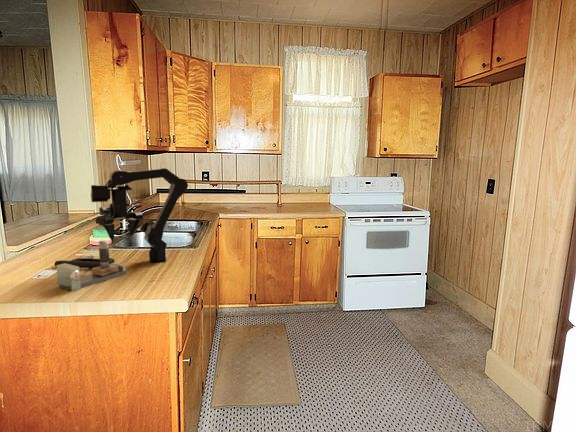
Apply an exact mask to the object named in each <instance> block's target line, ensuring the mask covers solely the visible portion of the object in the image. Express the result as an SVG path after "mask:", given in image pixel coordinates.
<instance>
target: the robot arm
mask: <svg viewBox="0 0 576 432" xmlns="http://www.w3.org/2000/svg"><path fill="white" fill-rule="evenodd" d="M160 178H163V180H165V181H166V182H167V183H168V184H169V190H168V194H167V197H166V199H165V202H164V204H162V205H163V206H162V208H161V210H160V211H159V213H158V215H157V218H156V220H155V221H154V223H152V225H149V224H148V225H147V228H146V231H144V233H143V234H144V240H145V241H146V243H148V244H149V246H150V248H149V251H148V260H149V263H163V262H167V253H166V248H167V245H168V244H167V242H165V241H164V240H162V239H163V235H164V229H165V226H166V224H167V222H168V219H169V218H170V216H171V213H172V212H173V210H174V209H175V206H176V204H177V202H178V200H179V199H180V197H182V196H183V195H184V193H185V192H186V191H187V189H188V187H189V184H188V181H186V179H184V178H181V177H179V176H178V175H176V174H174V173H173V172H171V170H170V169H168V168H165V167H161V168H157V169H155V168H154V169H147V170H138V171H131V170H129V171H127V170H114V171H112V172H111V173H110V175H109V180H108V181H107V182H106V183H105V184H104V185H95V184H92V185H90V199H91V200H90V201H91V203H104V202H105V203H106V202H108V201H109V200H110V199H111V203H110V204H109V207H106V206H100V207H99V214H100V216H96V218H95V224H98V225H99V226H102V227H103V228H104V229H105V231H106V233H107V235H108V237H109V239H110V240H111V241H114V237H115V236H114V235H115V223H114V222H115V221H121V220H122V221H123V220H126V221H127V223H128V234H129V237H132V236H133V235H134V233H135V230H136V228H137V227H138V224H139V223H140V222H141V221H142V220H143V219H144V214H143V213H142V211H137V210H136V211H135V210H134V211H128V209H129V207H130V205H131V204H130V203H129V202H128V192H127V191H132V190H133V188H132V187H130V186H129V185H128V184H130V183H133V182H136V181H141V180H151V179H160Z"/></svg>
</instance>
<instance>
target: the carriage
mask: <svg viewBox="0 0 576 432" xmlns="http://www.w3.org/2000/svg"><path fill="white" fill-rule="evenodd" d="M98 245H99V246H98V247H99V248H98V253H99V259H100V264H101V266H99V267H95V268H92V269H91V274H96V275H100V276H104V275H108V274H111V273H114V272H117V271H119V267H118V266H116V265H111V264H109V261H110V259H109V258H110V247H109V241H108V240H99V241H98Z"/></svg>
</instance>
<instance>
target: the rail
mask: <svg viewBox="0 0 576 432" xmlns="http://www.w3.org/2000/svg"><path fill="white" fill-rule="evenodd" d="M111 265H116V266H118V267H119V271H117V272H114V273H111V274H108V275H104V276H100V275H96V274H92V273H91V274H87V275H84V276H82V272H81V270H80V269H79V267H78V266H74V265H70V264H66V263H64V264H60V265H56V267H55V268H56V275H57V287H58V288H59V289H63V290H66V291H69V292H74V291H77V290H81V289H83V288H86V287H89V286H91V285H95V284H99V283H101V282H105V281H107V280H108V281H109V280H111V279H114V278H117V277H120V276H123V275H127V269H126V265H124V264H121V263H116V262H114V263H111Z"/></svg>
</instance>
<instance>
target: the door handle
mask: <svg viewBox="0 0 576 432" xmlns="http://www.w3.org/2000/svg"><path fill="white" fill-rule="evenodd" d="M109 259H110V261H109V264H111V263H115V259H114V258H112V257H109ZM64 263H66V264H70V265H74V266H78V267H79V270H90V269H91V270H92V268H95V267H99V266H101V264H100V258H94V255H89V256H85V257H83V258H80V257H79V258H74V259H71V260H63V259H62V260H61V259H60V260H55V261H54V267H55V268H57V267H56V265H60V264H64Z"/></svg>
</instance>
